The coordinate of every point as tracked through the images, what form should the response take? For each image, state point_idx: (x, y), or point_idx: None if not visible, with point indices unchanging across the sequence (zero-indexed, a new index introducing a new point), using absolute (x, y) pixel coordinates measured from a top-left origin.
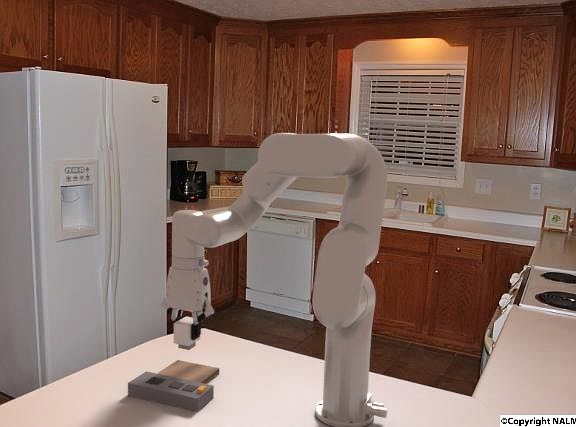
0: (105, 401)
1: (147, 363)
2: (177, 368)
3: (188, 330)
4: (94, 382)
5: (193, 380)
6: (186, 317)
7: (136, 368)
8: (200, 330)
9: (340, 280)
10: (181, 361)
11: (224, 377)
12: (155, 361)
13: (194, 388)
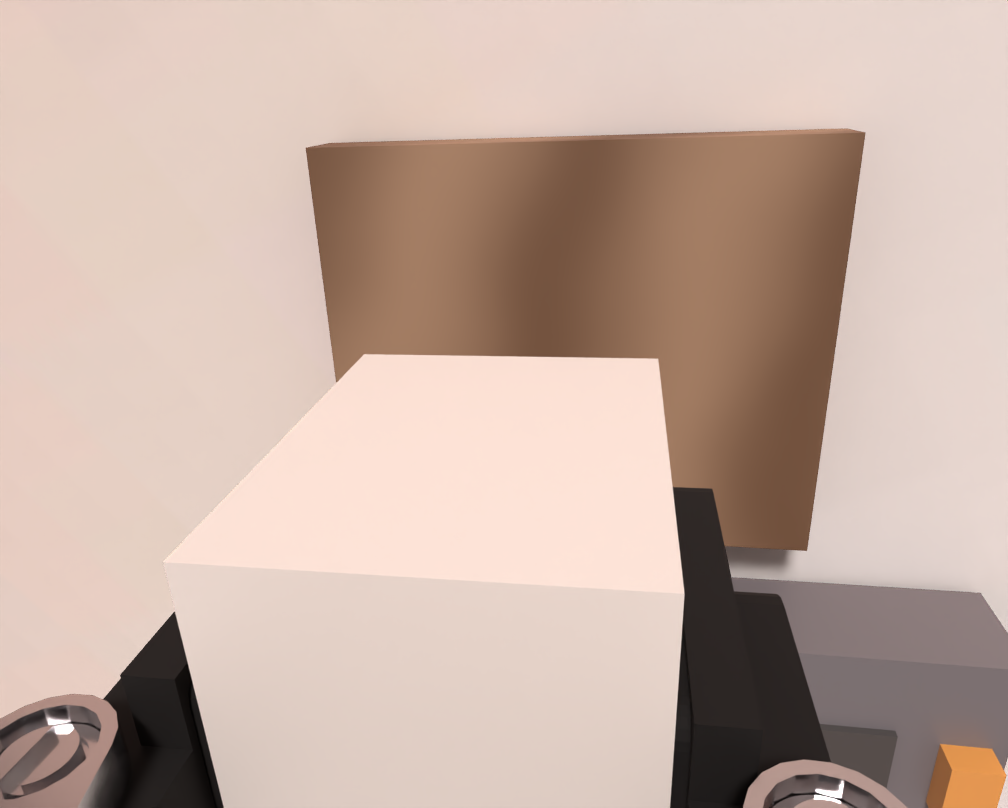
0: None
1: (65, 215)
2: (438, 338)
3: None
4: (56, 632)
5: (724, 504)
6: (230, 628)
7: (79, 346)
8: (790, 656)
9: None
10: (365, 164)
11: (925, 160)
12: (82, 139)
13: (881, 772)
